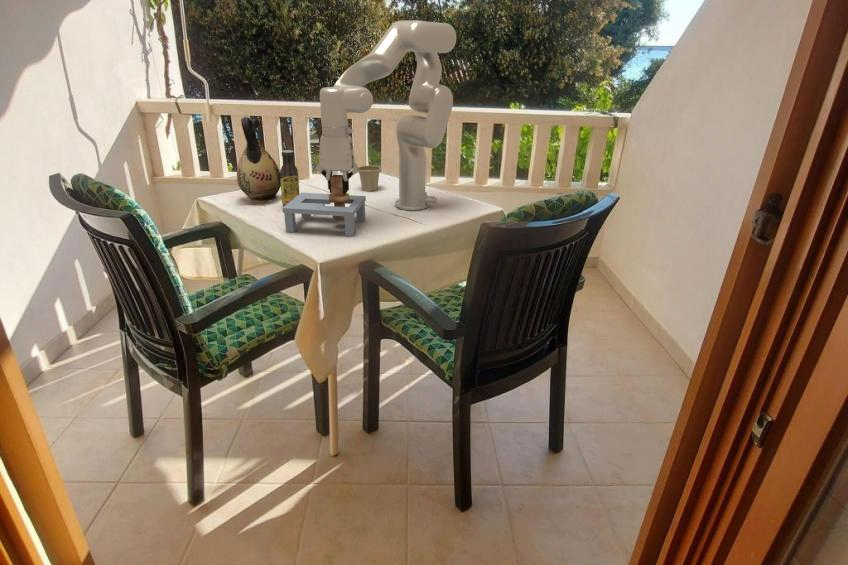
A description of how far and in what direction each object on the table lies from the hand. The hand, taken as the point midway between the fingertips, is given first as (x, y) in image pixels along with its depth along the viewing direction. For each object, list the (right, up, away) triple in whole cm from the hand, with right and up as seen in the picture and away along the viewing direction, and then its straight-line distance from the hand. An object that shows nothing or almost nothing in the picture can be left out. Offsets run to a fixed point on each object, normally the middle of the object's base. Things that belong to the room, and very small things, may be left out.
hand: (338, 191), depth 154 cm
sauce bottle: (-21, -2, +22) cm, 30 cm away
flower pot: (+5, +9, +44) cm, 46 cm away
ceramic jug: (-34, +2, +29) cm, 44 cm away
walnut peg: (0, -8, +4) cm, 9 cm away
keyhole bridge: (-5, -10, +6) cm, 12 cm away
